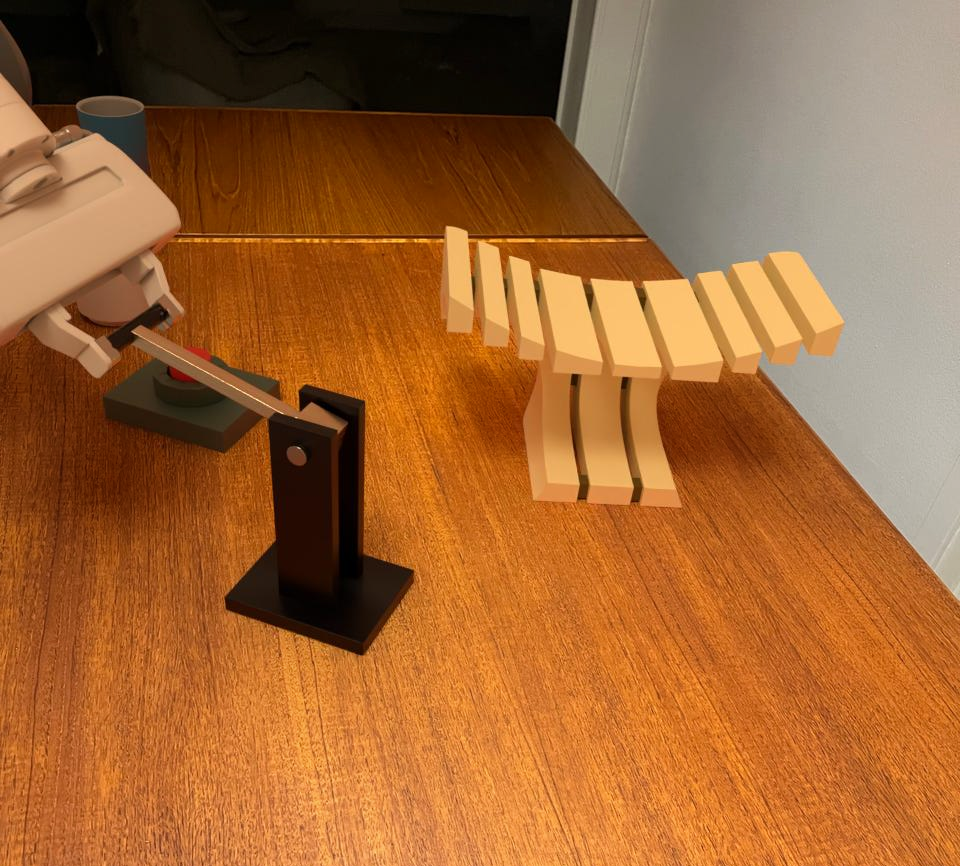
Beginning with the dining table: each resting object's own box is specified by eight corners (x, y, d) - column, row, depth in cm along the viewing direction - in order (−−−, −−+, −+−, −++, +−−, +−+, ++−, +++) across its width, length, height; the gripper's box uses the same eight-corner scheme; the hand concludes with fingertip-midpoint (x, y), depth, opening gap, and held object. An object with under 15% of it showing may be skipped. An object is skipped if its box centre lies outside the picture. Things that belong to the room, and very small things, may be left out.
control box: (106, 418, 90) (98, 377, 87) (169, 369, 97) (164, 330, 94) (224, 454, 87) (220, 413, 85) (280, 401, 94) (278, 362, 92)
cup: (131, 231, 119) (110, 91, 108) (175, 247, 116) (158, 106, 106) (87, 248, 114) (61, 105, 104) (132, 265, 112) (109, 120, 102)
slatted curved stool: (735, 416, 100) (789, 237, 88) (776, 512, 88) (844, 322, 76) (433, 398, 97) (445, 211, 85) (435, 495, 86) (449, 295, 73)
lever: (93, 362, 65) (95, 330, 63) (148, 324, 69) (151, 294, 67) (311, 480, 64) (319, 452, 63) (353, 436, 68) (361, 408, 67)
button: (162, 377, 89) (159, 359, 87) (185, 360, 91) (182, 342, 90) (198, 388, 88) (195, 370, 87) (219, 370, 90) (218, 352, 89)
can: (170, 311, 105) (155, 193, 97) (117, 337, 100) (97, 215, 92) (117, 290, 107) (98, 173, 99) (62, 314, 103) (38, 194, 94)
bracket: (225, 609, 73) (203, 419, 62) (285, 541, 79) (275, 358, 69) (362, 656, 71) (365, 467, 60) (413, 581, 77) (424, 399, 66)
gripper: (63, 147, 71) (201, 311, 75) (-168, 244, 56) (21, 439, 61) (107, 88, 67) (249, 264, 72) (-128, 176, 52) (70, 390, 57)
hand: (143, 346), depth 66 cm, fingers closed on lever, 6 cm apart
